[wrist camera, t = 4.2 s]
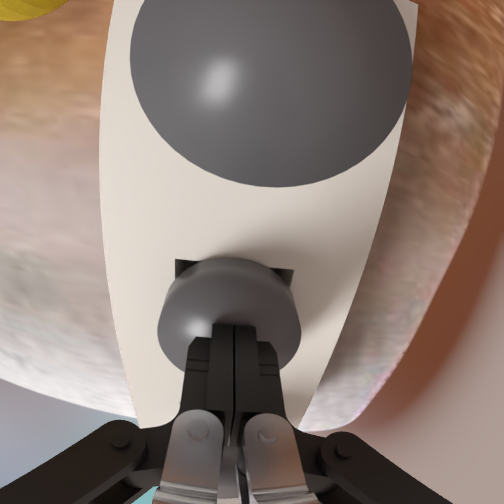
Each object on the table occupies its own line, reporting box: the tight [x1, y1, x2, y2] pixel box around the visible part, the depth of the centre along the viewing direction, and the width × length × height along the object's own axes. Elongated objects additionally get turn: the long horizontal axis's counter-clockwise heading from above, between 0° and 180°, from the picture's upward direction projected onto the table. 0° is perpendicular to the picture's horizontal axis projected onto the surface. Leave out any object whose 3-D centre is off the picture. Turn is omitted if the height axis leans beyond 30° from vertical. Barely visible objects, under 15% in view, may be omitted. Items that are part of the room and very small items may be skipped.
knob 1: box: [217, 439, 239, 499], centre depth 15 cm, size 5×5×6 cm
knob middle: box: [157, 257, 301, 373], centre depth 13 cm, size 5×5×6 cm
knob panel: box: [99, 0, 418, 429], centre depth 15 cm, size 26×10×5 cm, turn 173°
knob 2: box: [130, 0, 412, 188], centre depth 7 cm, size 5×5×6 cm
